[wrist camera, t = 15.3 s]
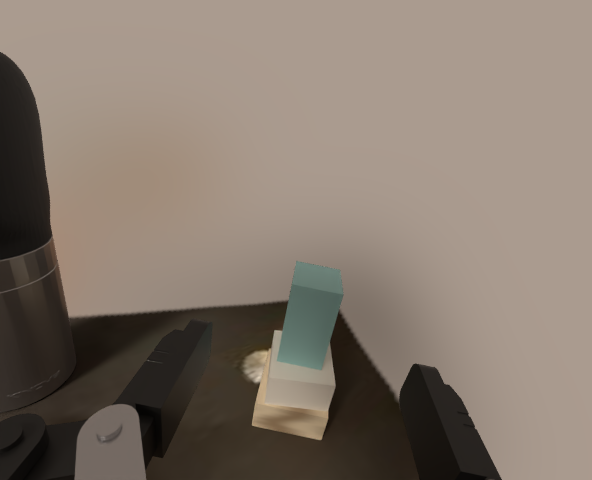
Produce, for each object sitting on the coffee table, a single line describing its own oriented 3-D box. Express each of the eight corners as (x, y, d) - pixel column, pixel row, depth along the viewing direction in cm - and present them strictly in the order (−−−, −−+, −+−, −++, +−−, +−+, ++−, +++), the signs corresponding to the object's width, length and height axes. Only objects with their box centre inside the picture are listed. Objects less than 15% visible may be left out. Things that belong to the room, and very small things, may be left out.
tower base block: (251, 426, 31) (255, 403, 30) (265, 369, 39) (269, 348, 37) (320, 441, 31) (328, 418, 30) (321, 381, 39) (327, 360, 37)
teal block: (276, 361, 30) (292, 284, 27) (282, 330, 35) (296, 261, 31) (321, 370, 30) (343, 294, 26) (321, 338, 35) (340, 269, 31)
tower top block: (264, 403, 30) (269, 377, 28) (270, 353, 36) (274, 330, 35) (327, 411, 30) (335, 386, 29) (322, 360, 37) (329, 337, 35)
